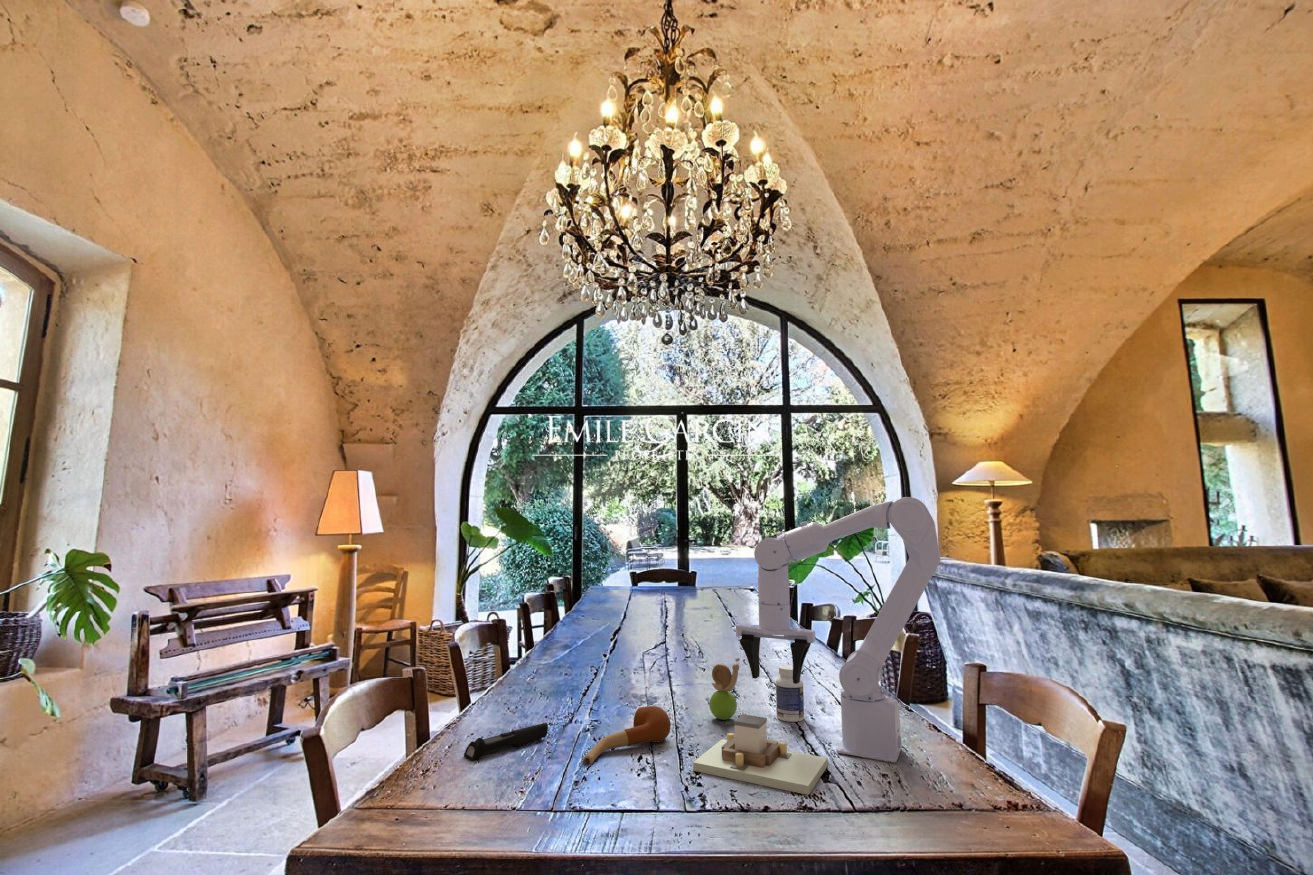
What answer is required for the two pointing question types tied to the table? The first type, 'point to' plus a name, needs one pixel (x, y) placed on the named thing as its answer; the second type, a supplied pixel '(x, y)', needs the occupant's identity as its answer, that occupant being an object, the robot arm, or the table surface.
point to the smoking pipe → (636, 732)
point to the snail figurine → (724, 691)
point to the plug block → (751, 734)
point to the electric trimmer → (505, 741)
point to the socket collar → (751, 754)
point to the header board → (766, 768)
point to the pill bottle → (789, 696)
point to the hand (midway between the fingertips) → (775, 679)
